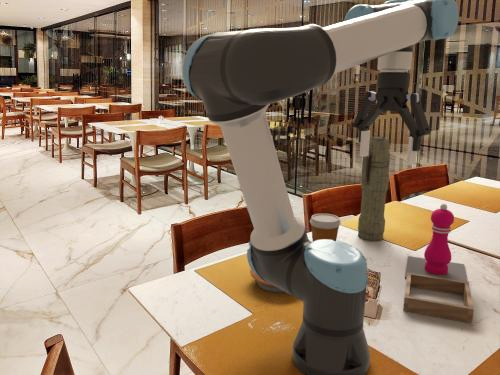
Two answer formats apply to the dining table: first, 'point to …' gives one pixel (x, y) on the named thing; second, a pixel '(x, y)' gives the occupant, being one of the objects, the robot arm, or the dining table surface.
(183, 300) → the dining table surface
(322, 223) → the disposable coffee cup
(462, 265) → the grey square plate
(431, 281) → the walnut tray
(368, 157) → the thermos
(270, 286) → the pie
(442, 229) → the pepper mill
